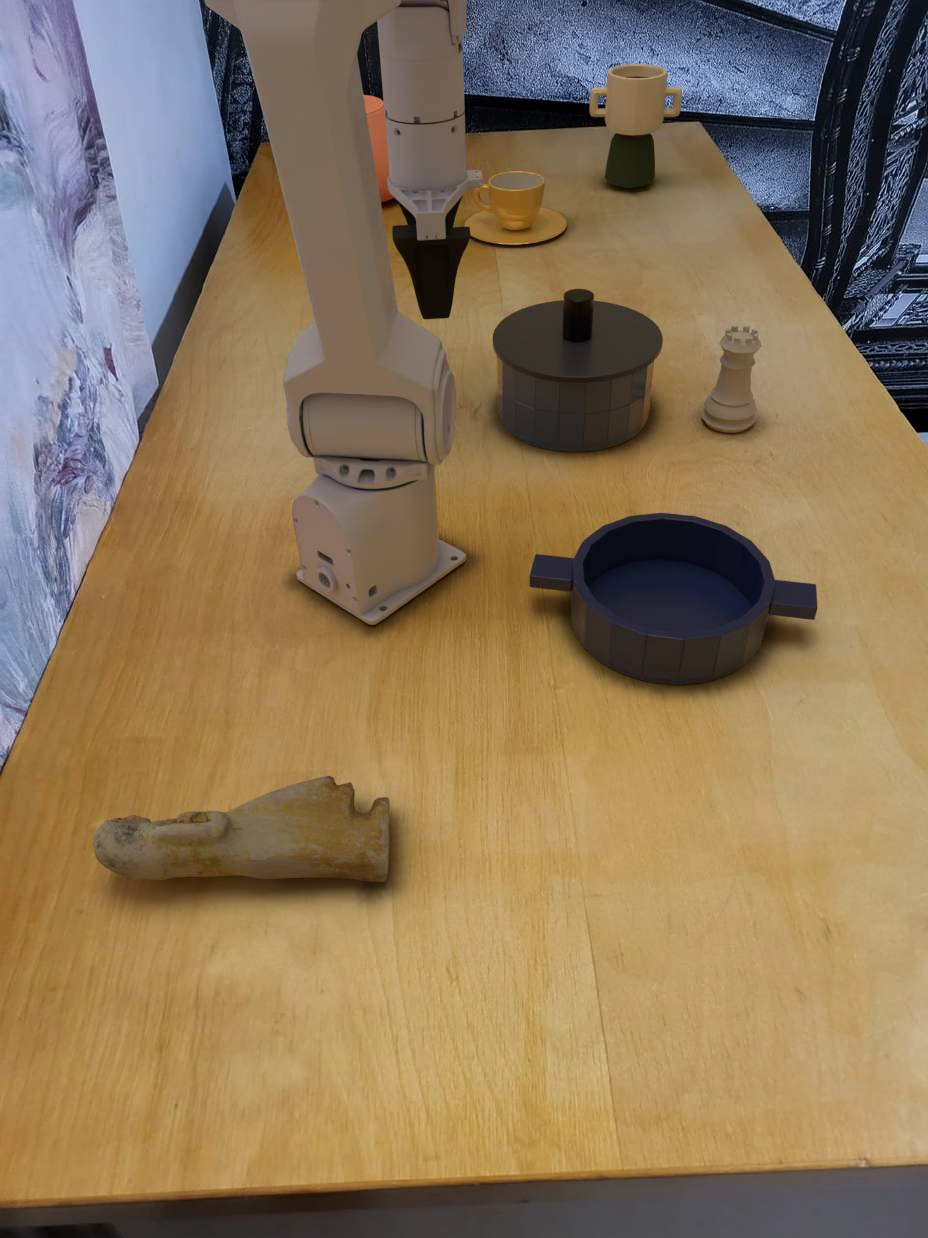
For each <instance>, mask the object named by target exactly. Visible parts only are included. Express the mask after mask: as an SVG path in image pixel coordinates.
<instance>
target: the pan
mask: <svg viewBox="0 0 928 1238" xmlns="http://www.w3.org/2000/svg"><path fill="white" fill-rule="evenodd" d="M528 582H529V583H528V585H529V587H530V588H533V589H542V590H551V591H560V592H566V593H567V592H568V593H570V599H569V602H570V604H569V605H570V622H571V625H572V629H573V632H574V635H576V638H577V640H578V641H579V642H580V644H581V645H582V646H583V648H584V649H585V650H586V651H587V652H588V653H589V654H590V655H591V656H592V657H593V658H594V659H596V660H597V661H598V662H600V663H602V664H603V665H605V666H606V667H608V668H609V669H611V670H613V671H615V672H617V673H620V674H622V675H624V676H627V677H630V678H632V679H636V680H639V681H643V682H648V683H654V684H660V685H672V686H682V685H683V686H685V685H686V686H687V685H696V684H702V683H707V682H713V681H715V680H719V679H721V678H723V677H726V676H728V675H730V674H733V673H735V672H736V671H738V670H739V669H741V668H742V667H744V666H745V665H746V664H747V663H749V662H750V661H751V660H752V658H753V657H754V656H755V655H756V654H757V652H758V651H759V648H760V647H761V645H762V642H763V639H764V635H765V631H766V628H767V625H768V620H769V616H774V617H775V616H777V617H783V618H794V619H802V620H811V621H815V620H816V616H817V613H818V593H817V592H818V591H817V584H816V583H809V582H800V581H791V580H781V579H775V576H774V573H773V569H772V565H771V562H770V560H769V559H768V558H767V557H766V556H765V554H764V553H763V552H762V551H761V550H760V548H758V546H757V545H756V544H755V543H754V542H753V541H752V540H751V539H749V538H748V537H746V536H744V535H742V534H741V533H739V532H738V531H736V530H734V529H733V528H731V527H729V526H728V525H725V524H722V523H719V522H716V521H712V520H709V519H707V518H703V517H699V516H696V515H689V514H678V513H669V512H654V513H653V512H652V513H644V514H635V515H629V516H626V517H624V518H620V519H617V520H615V521H612V522H609V523H607V524H604V525H602V526H601V527H599V528H598V529H597V530H595V531H594V532H593V533H591V534H589V536H587V537H586V538H585V539H583V541H581V544H580V545H579V547H578V549H577V551H576V553H575V554H574V556H573V557H567V556H559V555H558V556H557V555H549V554H541V553H540V554H538V553H536V554H535V555H534V559H533V561H532V566H531V569H530V573H529V581H528Z"/></svg>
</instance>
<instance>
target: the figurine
mask: <svg viewBox="0 0 928 1238" xmlns="http://www.w3.org/2000/svg"><path fill="white" fill-rule="evenodd" d="M355 792H356V791H355V788H354V784H353V783H352V781H349V782H345V783H342V784H337V782H336V781H335V777H334V776H332V775H326V776H321V777H316V778H314V779H309V780H305V781H301V782H296V783H294V784H290V785H288V786H283V787H281V788H277V789H275V790H271V791H270V792H267V793H264V794H262V795H260V796H258V797H255V798H253V799H251V800H249V801H247V802H244V803H242V804H239V805H238V806H236V807H234V808H232V809H230V810H229V811H217V810H207V811H200V810H199V811H198V810H197V811H195V810H194V811H192V810H191V811H185V812H180V813H179V815H178V816H177V818H167V819H162V820H155V821H151V819H150V818H148V817H144V816H140V815H136V814H132V815H128V816H126V817H114V818H111V819H107V820H105V821H104V822H102V823H101V824H100V825H99V827H97V829H96V832H95V834H94V837H93V843H92V846H93V851H94V855H95V857H96V860H97V861H98V862H99V863H100V864H101V865H102V866H103V867H104V868H105V869H107V870H109V871H111V872H113V873H115V874H118V875H120V876H123V877H126V878H127V877H128V878H131V879H138V880H141V879H142V880H154V881H155V880H156V881H157V880H161V881H162V880H163V881H164V880H169V879H171V878H172V879H173V878H184V877H189V878H190V877H195V878H209V877H227V876H228V877H229V876H245V877H249V878H254V879H260V880H276V879H277V880H278V879H297V878H299V879H301V878H309V879H310V878H333V879H334V878H335V879H345V880H346V879H347V880H355V881H356V880H357V881H364V882H374V883H383V882H385V881H386V880H387V878H388V873H389V863H390V809H391V807H390V805H391V804H390V803H391V802H390V798H389V797H387V796H384V797H377V798H376V799H375V800H373V803H372V805H371V808H370V809H369V810H368V811H366V812H359V811H358V810H357V809H356V808H355V796H356V795H355Z"/></svg>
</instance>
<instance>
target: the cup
mask: <svg viewBox="0 0 928 1238" xmlns="http://www.w3.org/2000/svg"><path fill="white" fill-rule="evenodd" d="M545 184H546V179H545V177H544V176H543V175H541V174H539V173H537V172H533V171H527V170H526V171H525V170H511V171H510V170H509V171H504V172H500V173H496V174H494V175H492V176H491V177H489V178H488V180H487V183H483V185H482V187H480V188H474V190H473V196H472V197H473V201H474V203H475V206H476V207H477V208H478V209H480V210H481V211H478V212H476V213H474V214H472V215H470V217H468V218H467V219H466V220H465V222H464V226H463V227H470V237H473V238H475V239H478V240H480V241H483V242H487V243H493V244H501V245H525V244H533V243H539V242H542V241H543V242H544V241H548V240H550V239H552V238H555V237H557V236H559V235H560V234H562V233H563V232H564V231H565V230H566V229H567V225H568V221H567V219H566V218H565V217H564V216H563V215H562V214H560V213H559V212H557V211H555V210H552V209H549V208H545V207H542V203H543V199H544V193H545ZM481 192H486V193H488V194H489V199H490V204H489V203H486V202H484V201H483V200H482V198H481Z"/></svg>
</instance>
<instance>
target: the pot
mask: <svg viewBox="0 0 928 1238" xmlns="http://www.w3.org/2000/svg"><path fill="white" fill-rule="evenodd" d="M654 367H655V360H654V361H653V362H652V363H651V364H650V365H648V366H647V367H645V368H644V369H642V370H640V371H638V372H635V373H633V374H631V375H628V376H624V377H621V378H617V379H613V380H607V381H600V382H589V383H570V382H558V381H550V380H545V379H540V378H536V377H532V376H529V375H526V374H524V373H521V372H519V371H517V370H515V369H513V368H511V367H509V366H508V365H506V364H505V363H504V362H503V361H501V359H500V358H499V357H498V356H497V355H496V380H497V381H496V383H497V384H496V385H497V386H496V387H497V412H498V418H499V422H500V423H501V425H502V427H503V428H504V430H506V432H508V433H509V434H510V435H511V436H513V437H514V438H516V439H517V440H520V441H521V442H523V443H526V444H528V445H531V446H534V447H537V448H540V449H543V450H549V451H554V452H555V451H556V452H563V453H564V452H565V453H566V452H567V453H583V452H584V453H585V452H594V451H600V450H606V449H610V448H613V447H616V446H619V445H621V444H623V443H625V442H628V441H629V440H631V439H633V438H635V437H636V436H637V435H638V434H639V433H640V432H641V431H642V430H643V429H644V428H645V426H646V424H647V421H648V417H649V415H650V405H651V396H652V388H653V378H654V377H653V376H654Z"/></svg>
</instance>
